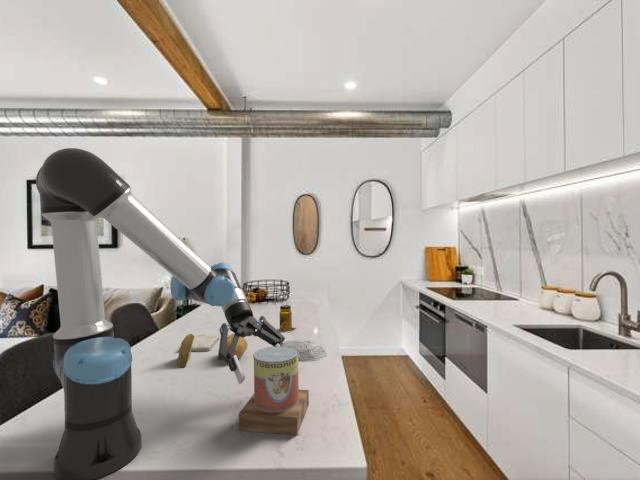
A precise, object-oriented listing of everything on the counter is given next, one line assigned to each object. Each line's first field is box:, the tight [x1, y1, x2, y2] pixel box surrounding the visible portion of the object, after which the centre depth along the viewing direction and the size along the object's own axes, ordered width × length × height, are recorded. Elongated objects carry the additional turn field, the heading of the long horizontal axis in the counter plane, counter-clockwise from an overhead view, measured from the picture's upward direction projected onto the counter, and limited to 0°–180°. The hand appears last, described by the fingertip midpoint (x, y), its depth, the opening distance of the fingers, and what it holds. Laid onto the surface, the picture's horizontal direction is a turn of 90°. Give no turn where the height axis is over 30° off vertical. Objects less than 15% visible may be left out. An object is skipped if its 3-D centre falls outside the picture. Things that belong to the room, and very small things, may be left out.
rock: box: [176, 333, 195, 368], centre depth 123 cm, size 11×9×10 cm
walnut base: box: [238, 389, 310, 436], centre depth 84 cm, size 14×14×4 cm
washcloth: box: [191, 334, 221, 353], centre depth 143 cm, size 12×18×3 cm, turn 4°
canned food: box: [253, 346, 300, 412], centre depth 84 cm, size 11×11×12 cm
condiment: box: [277, 304, 297, 333], centre depth 166 cm, size 7×8×12 cm
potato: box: [226, 333, 248, 359], centre depth 127 cm, size 10×14×8 cm
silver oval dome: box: [281, 339, 328, 363], centre depth 130 cm, size 16×25×7 cm, turn 94°
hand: (265, 373), depth 88 cm, fingers open, 13 cm apart
